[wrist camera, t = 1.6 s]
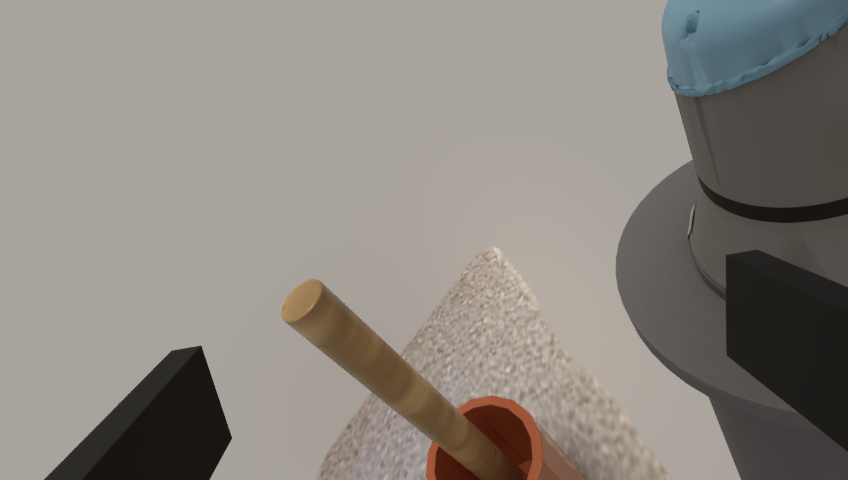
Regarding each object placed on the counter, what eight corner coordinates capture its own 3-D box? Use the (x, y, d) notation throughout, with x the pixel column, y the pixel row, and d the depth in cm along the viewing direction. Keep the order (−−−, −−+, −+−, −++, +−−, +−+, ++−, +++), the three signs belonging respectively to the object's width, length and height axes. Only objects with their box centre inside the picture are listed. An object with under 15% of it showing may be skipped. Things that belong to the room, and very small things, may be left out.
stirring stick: (544, 484, 33) (319, 270, 19) (558, 513, 31) (323, 301, 18) (519, 498, 33) (279, 297, 20) (531, 528, 32) (280, 330, 18)
